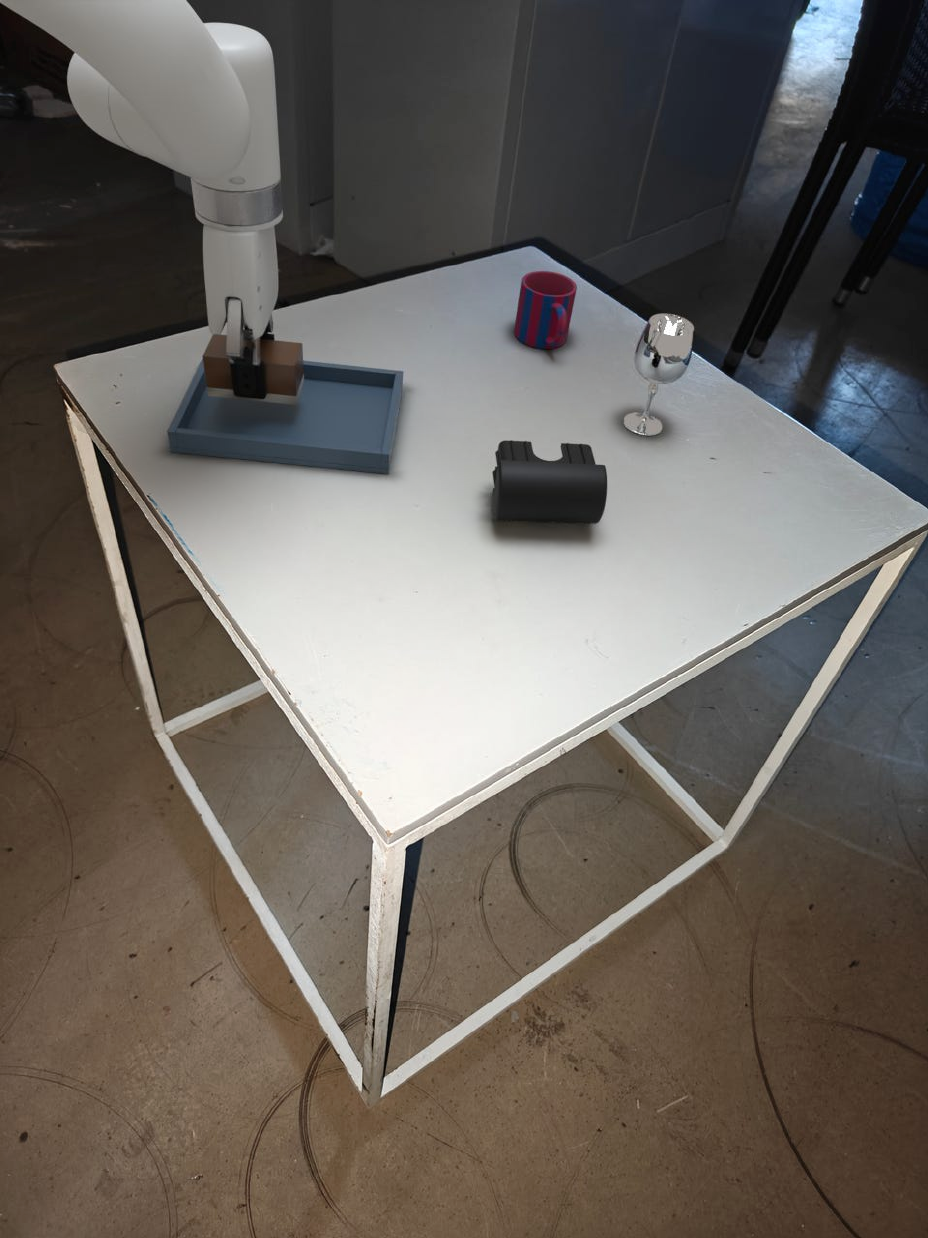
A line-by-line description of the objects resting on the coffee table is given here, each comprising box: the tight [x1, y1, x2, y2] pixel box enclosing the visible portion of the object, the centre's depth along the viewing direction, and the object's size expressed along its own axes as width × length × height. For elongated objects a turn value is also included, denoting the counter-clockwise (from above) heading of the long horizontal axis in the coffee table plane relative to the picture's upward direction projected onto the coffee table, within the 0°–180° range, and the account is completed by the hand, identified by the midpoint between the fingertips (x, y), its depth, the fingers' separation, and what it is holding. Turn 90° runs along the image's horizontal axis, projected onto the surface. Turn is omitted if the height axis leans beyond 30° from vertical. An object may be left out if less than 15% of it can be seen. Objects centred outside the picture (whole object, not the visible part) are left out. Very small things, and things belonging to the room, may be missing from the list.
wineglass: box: [622, 313, 695, 437], centre depth 92 cm, size 6×6×12 cm
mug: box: [513, 270, 578, 350], centre depth 105 cm, size 7×10×7 cm
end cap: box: [490, 439, 608, 525], centre depth 81 cm, size 10×7×7 cm
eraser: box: [201, 334, 304, 405], centre depth 87 cm, size 9×4×4 cm, turn 88°
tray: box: [166, 358, 404, 475], centre depth 90 cm, size 22×16×2 cm
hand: (255, 380), depth 88 cm, fingers closed on eraser, 4 cm apart
